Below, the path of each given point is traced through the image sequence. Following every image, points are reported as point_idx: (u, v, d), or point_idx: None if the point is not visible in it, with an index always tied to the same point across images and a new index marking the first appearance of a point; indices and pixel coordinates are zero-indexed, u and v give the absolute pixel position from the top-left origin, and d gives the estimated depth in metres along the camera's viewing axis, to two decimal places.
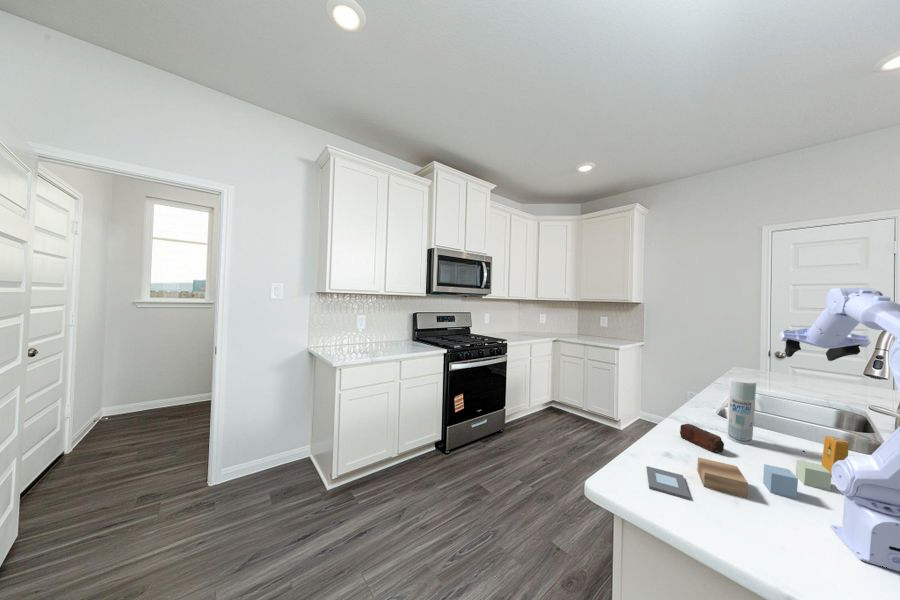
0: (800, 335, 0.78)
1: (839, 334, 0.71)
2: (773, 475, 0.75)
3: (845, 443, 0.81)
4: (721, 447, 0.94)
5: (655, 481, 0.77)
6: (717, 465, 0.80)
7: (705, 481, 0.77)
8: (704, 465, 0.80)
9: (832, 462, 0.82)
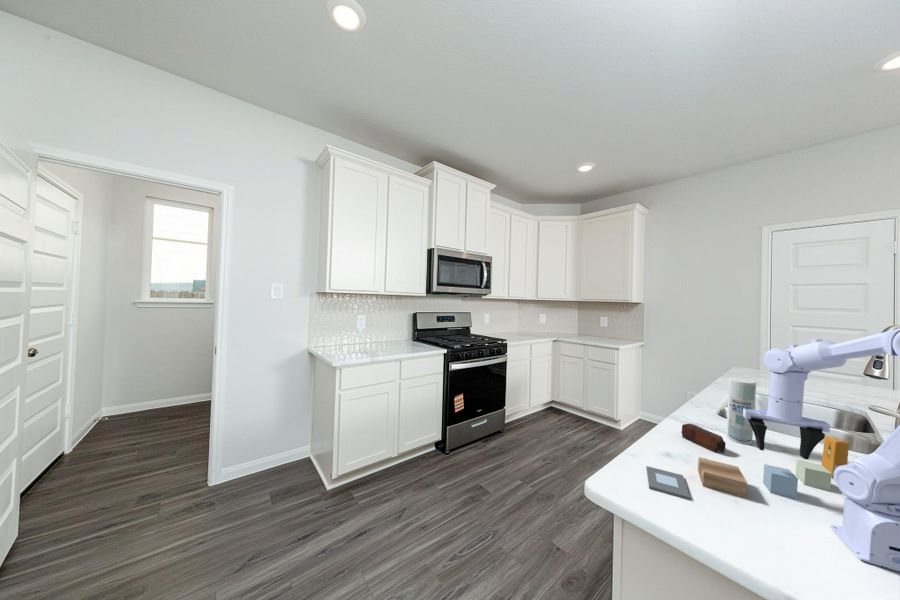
0: (761, 413, 0.77)
1: (798, 400, 0.72)
2: (773, 475, 0.75)
3: (845, 443, 0.81)
4: (723, 447, 0.94)
5: (655, 481, 0.77)
6: (717, 465, 0.80)
7: (704, 480, 0.77)
8: (704, 465, 0.80)
9: (832, 462, 0.82)
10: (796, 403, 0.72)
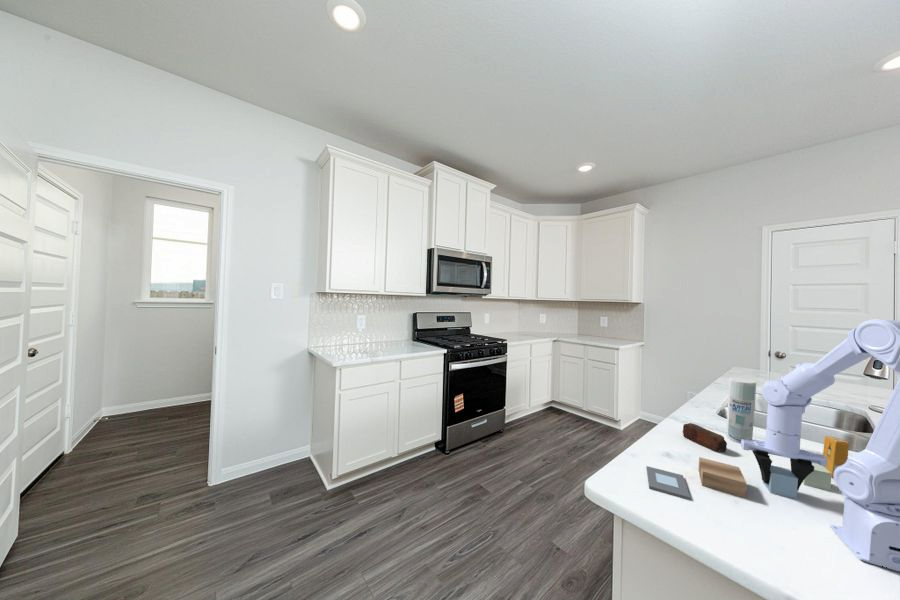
0: (759, 444, 0.78)
1: (796, 433, 0.73)
2: (773, 474, 0.75)
3: (845, 443, 0.81)
4: (724, 447, 0.94)
5: (655, 481, 0.77)
6: (718, 465, 0.80)
7: (703, 480, 0.77)
8: (704, 465, 0.80)
9: (832, 462, 0.82)
10: (794, 437, 0.73)
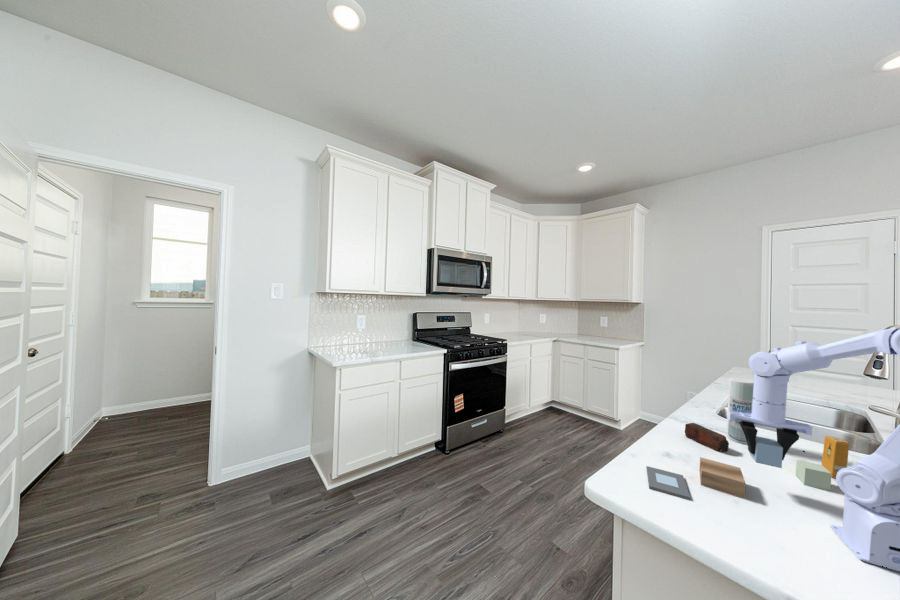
0: (745, 415, 0.78)
1: (783, 402, 0.73)
2: (759, 444, 0.75)
3: (845, 443, 0.81)
4: (726, 446, 0.94)
5: (655, 481, 0.77)
6: (718, 465, 0.80)
7: (702, 479, 0.77)
8: (704, 465, 0.80)
9: (832, 462, 0.82)
10: (779, 406, 0.73)
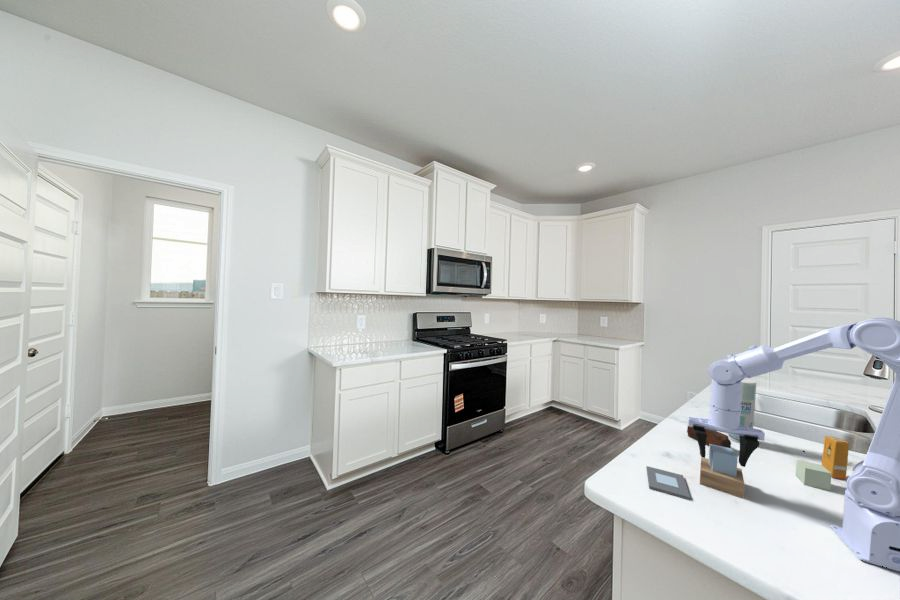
0: (703, 421, 0.80)
1: None
2: (715, 453, 0.77)
3: (845, 443, 0.81)
4: (728, 446, 0.95)
5: (655, 481, 0.77)
6: None
7: (701, 478, 0.78)
8: (704, 464, 0.80)
9: (832, 462, 0.82)
10: (733, 412, 0.75)
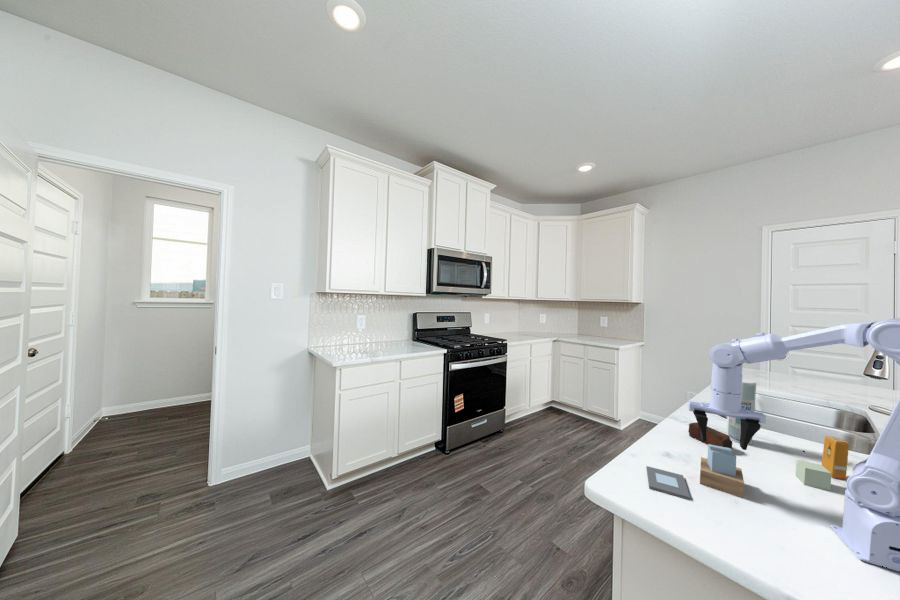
0: (704, 405, 0.80)
1: (741, 391, 0.75)
2: (714, 453, 0.77)
3: (845, 443, 0.81)
4: (729, 446, 0.95)
5: (655, 481, 0.77)
6: None
7: (701, 478, 0.78)
8: (704, 464, 0.80)
9: (832, 462, 0.82)
10: (734, 395, 0.75)
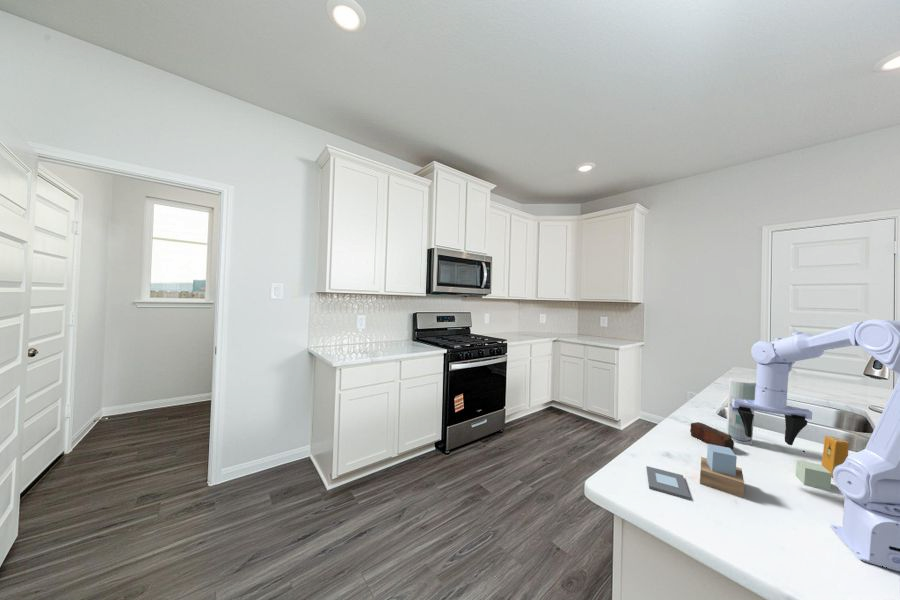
0: (749, 402, 0.82)
1: (782, 389, 0.77)
2: (714, 453, 0.77)
3: (845, 443, 0.81)
4: (731, 446, 0.95)
5: (655, 481, 0.77)
6: None
7: (701, 478, 0.78)
8: (704, 464, 0.80)
9: (832, 462, 0.82)
10: (781, 392, 0.77)
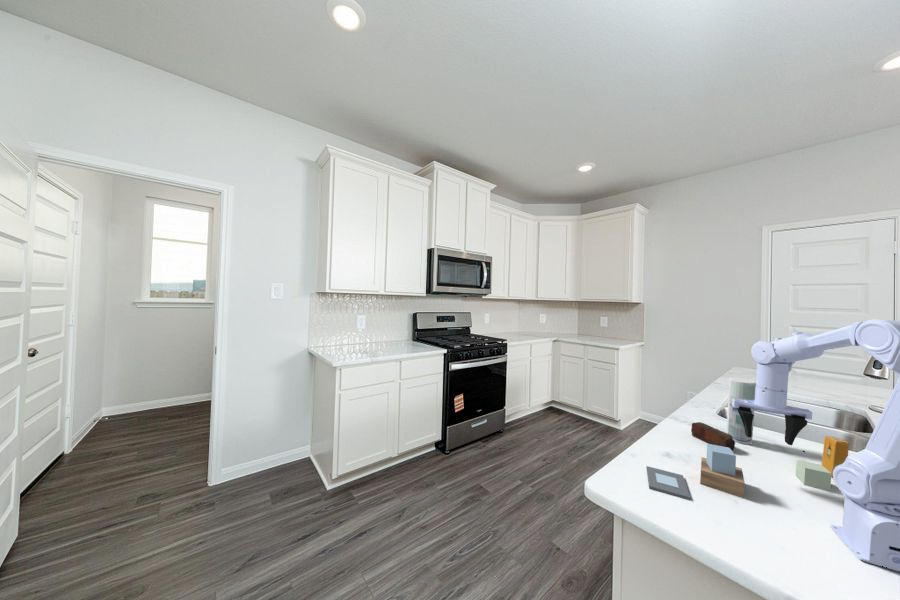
0: (749, 402, 0.82)
1: (782, 389, 0.77)
2: (714, 453, 0.77)
3: (845, 443, 0.81)
4: (732, 445, 0.95)
5: (655, 481, 0.77)
6: None
7: (701, 478, 0.78)
8: (704, 464, 0.80)
9: (832, 462, 0.82)
10: (781, 392, 0.77)
